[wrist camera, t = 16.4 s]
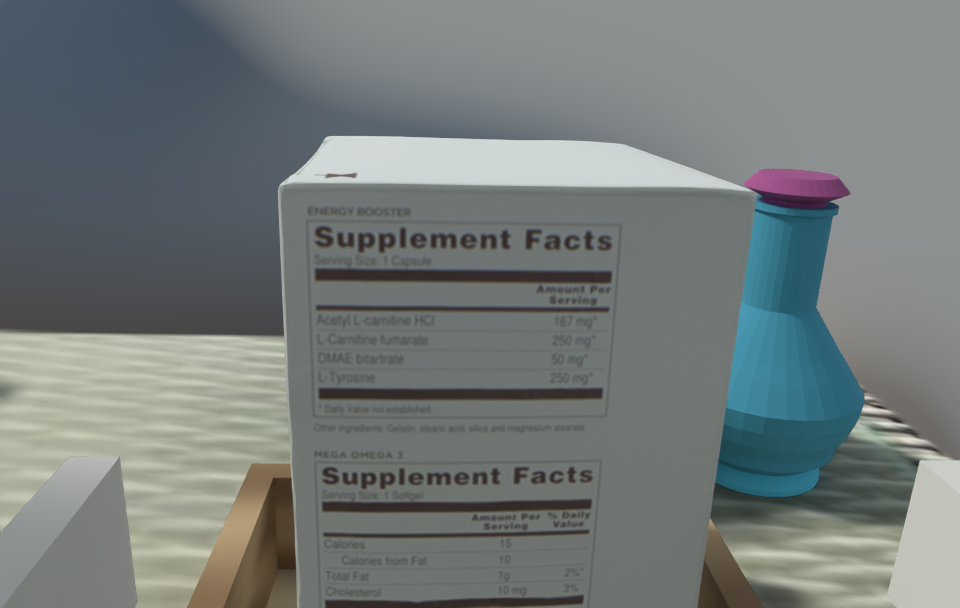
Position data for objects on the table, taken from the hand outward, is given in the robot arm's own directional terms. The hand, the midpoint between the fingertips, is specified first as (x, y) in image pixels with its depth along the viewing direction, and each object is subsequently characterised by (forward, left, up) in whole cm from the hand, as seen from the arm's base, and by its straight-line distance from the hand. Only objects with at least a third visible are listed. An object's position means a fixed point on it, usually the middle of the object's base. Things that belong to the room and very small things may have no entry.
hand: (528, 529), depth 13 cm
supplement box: (-7, +4, -12) cm, 14 cm away
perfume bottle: (-13, +25, -12) cm, 31 cm away
